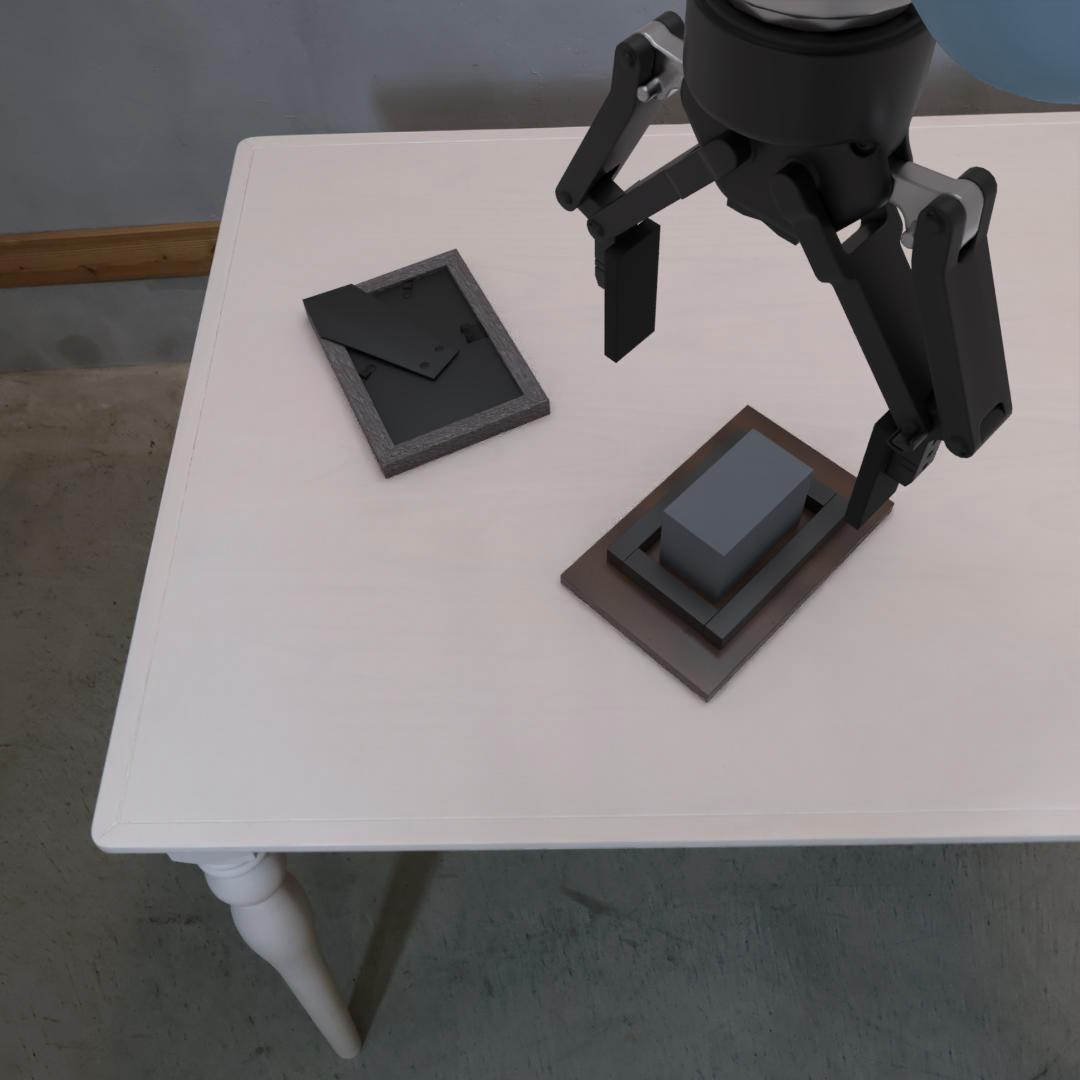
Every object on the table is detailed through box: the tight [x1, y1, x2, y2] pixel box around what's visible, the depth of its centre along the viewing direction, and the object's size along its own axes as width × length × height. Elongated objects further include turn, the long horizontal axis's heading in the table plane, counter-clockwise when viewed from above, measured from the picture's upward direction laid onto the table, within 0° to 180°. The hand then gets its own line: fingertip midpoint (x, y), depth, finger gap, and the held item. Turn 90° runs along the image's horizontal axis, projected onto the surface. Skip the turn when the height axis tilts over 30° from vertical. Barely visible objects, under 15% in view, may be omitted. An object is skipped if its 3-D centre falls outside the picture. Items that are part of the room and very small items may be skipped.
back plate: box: [560, 404, 895, 703], centre depth 77 cm, size 20×13×2 cm, turn 136°
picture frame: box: [301, 248, 551, 479], centre depth 87 cm, size 13×2×18 cm
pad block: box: [659, 429, 814, 603], centre depth 74 cm, size 9×5×6 cm, turn 135°
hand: (742, 420), depth 50 cm, fingers open, 13 cm apart
